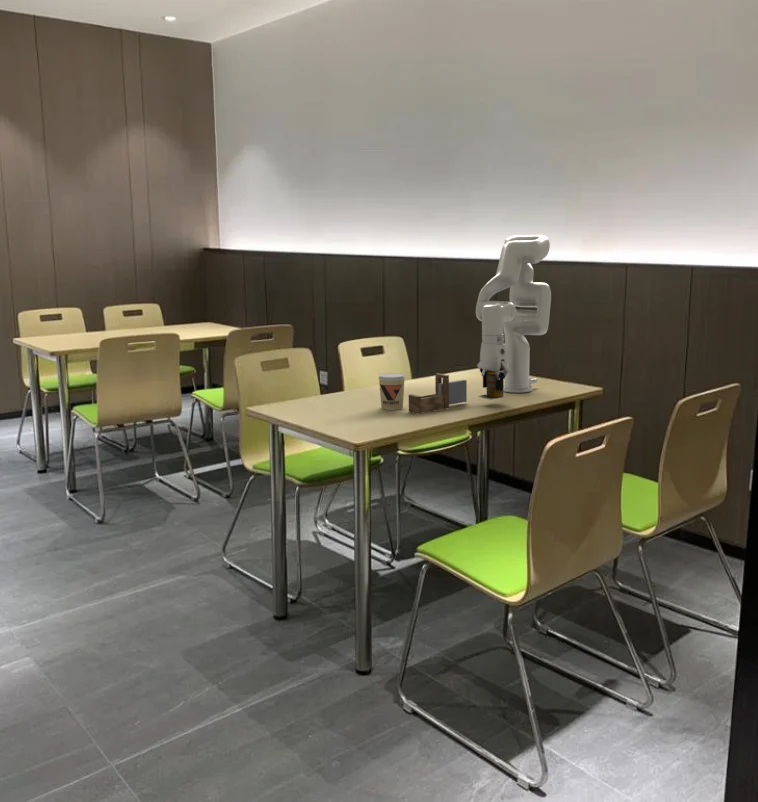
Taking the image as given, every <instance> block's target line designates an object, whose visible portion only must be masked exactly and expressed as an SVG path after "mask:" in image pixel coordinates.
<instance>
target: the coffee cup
mask: <svg viewBox="0 0 758 802" xmlns="http://www.w3.org/2000/svg"><path fill="white" fill-rule="evenodd" d="M405 378H406V377H405V375H404V374H403V373H400V372H399V373H398V372H397V373H395V372H387V373H380V375H379V376H378V381H379V383H378V384H379V396H380V404H381V405H380V406H381V409H382V410H384V409H386V410H385V411H398V410H397V409H400V410H402V409H403V408H404V394H405V380H406V379H405Z"/></svg>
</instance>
